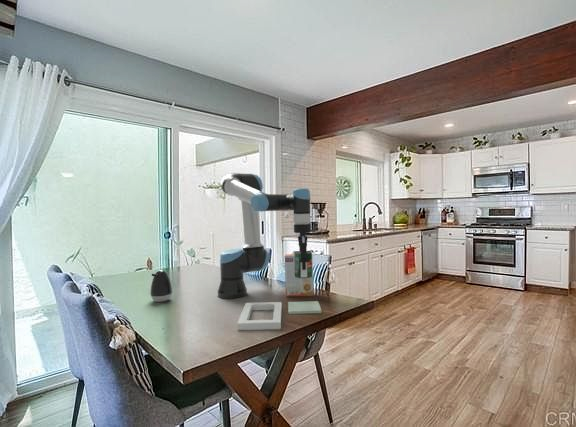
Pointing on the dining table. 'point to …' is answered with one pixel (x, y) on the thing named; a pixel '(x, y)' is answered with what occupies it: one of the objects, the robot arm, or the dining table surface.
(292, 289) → the cracker box
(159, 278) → the pump dispenser
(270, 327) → the frame
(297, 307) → the tile
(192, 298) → the dining table surface
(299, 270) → the canned tomato
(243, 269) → the robot arm
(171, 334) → the dining table surface
